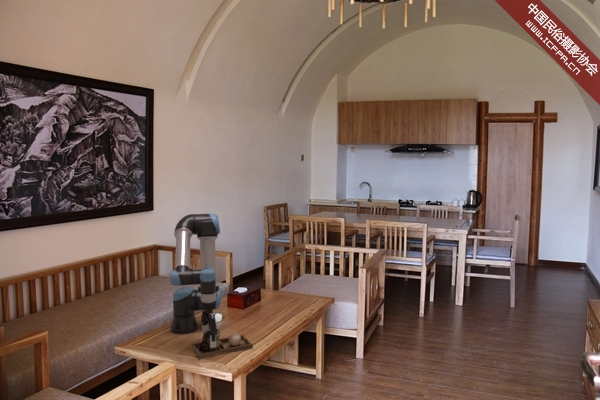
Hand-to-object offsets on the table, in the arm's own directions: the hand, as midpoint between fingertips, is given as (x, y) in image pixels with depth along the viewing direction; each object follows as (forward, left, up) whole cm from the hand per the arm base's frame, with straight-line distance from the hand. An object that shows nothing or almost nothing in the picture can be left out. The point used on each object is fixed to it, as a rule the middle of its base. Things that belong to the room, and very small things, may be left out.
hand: (209, 342), depth 244 cm
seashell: (0, 0, -4) cm, 4 cm away
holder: (0, +7, -5) cm, 8 cm away
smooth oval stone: (0, +13, -4) cm, 14 cm away
